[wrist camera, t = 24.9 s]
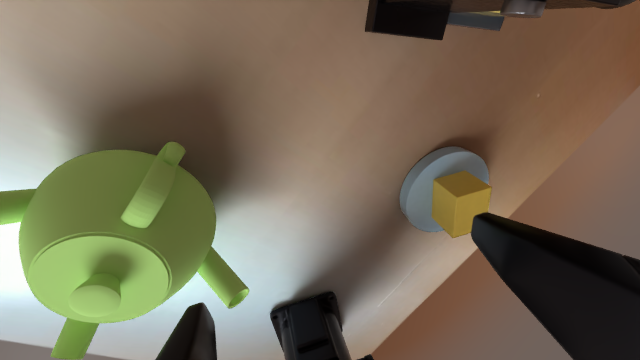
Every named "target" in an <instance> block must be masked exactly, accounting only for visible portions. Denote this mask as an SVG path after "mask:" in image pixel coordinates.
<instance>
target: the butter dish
mask: <svg viewBox="0 0 640 360" xmlns="http://www.w3.org/2000/svg"><path fill="white" fill-rule="evenodd" d="M504 17H505V16H502V15H500V11H486V12H461V13H449V16H448V20H447V24H448V25H456V26H463V27H470V28H478V29H485V30H493V31H500V29H501V26H502V23H503V20H504Z"/></svg>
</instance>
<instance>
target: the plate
mask: <svg viewBox="0 0 640 360" xmlns="http://www.w3.org/2000/svg"><path fill="white" fill-rule="evenodd" d="M464 170H466V171H467V172H469V173H470V174H472V175H473V176H475V177H477V178H478V179H480V180H481V181H483V182H485V183H486V184H488V180H489V173H488V168H487V166H486V164H485V162H484V160H483V159H482V158H481V157H479V156H478V155H476V154H475V153H473V152H471V151H469V150H467V149H465V148H462V147H455V146H453V147H445V148H441V149H438V150H436V151H433V152H431V153H430V154H428V155H426V156H425V157H424V158H422V159H421V160H420V161H419V162H418V163H417V164H416V165H415V166H414V167H413V168H412V169H411V171H410V172H409V173H408V175H407V177H406V178H405V180H404V182H403V185H402V188H401V192H400V207H401V210H402V212H403V214H404V215H405V217H406V218H407V219H408V220H409V221H410V222H411V223H412V224H413V225H414V226H415V227H416V228H418V229H420V230H422V231H426V232H439V231H443V230H444V229H443V228H442V227H441V226H440V225H439V224H438V223H437V222H436V221H435V220H434V219H433V218H432V199H433V180H434V179H437V178H440V177H444V176H447V175H451V174H454V173H458V172H461V171H464Z"/></svg>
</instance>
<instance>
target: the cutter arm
mask: <svg viewBox="0 0 640 360" xmlns="http://www.w3.org/2000/svg"><path fill="white" fill-rule="evenodd" d="M634 1H636V0H621V1H620V3H619V5H618V6H610V7H596V8H601V9H613V8H618V7H622V6H625V5H627V4H630V3H632V2H634Z"/></svg>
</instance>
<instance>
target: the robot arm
mask: <svg viewBox="0 0 640 360" xmlns="http://www.w3.org/2000/svg"><path fill="white" fill-rule="evenodd" d="M471 237H472V239H473V241H474V242H475V244H476V245H477V247H478V248H479V249H480V251H481V252H482V253H483V255H484V256H485V257H486V259H487V260H488V261H489V263H490V264H491V266H492V267H493V268H494V270H495V271H496V272H497V274H498V275H499V276H500V278H501V279H502V280H503V281H504V282H505V283H506V285H507V286H508V287H509V288H510V289H511V290H512V291H513V292H514V293H515V295H516V296H517V297H518V298H519V299H520V300H521V301H522V303H524V305H525V306H526V307H527V308H528V309H529V310H530V312H531V313H532V314H533V315H534V316H535V317H536V318H537V319H538V321H539V322H540V323H541V324H542V325H543V326H544V327H545V328H546V330H547V331H548V332H549V333H550V334H551V335H552V336H553V337H554V339H555V340H556V341H557V342H558V343H559V344H560V345H561V346H562V347H563V349H564V350H565V351H566V352H567V353H568V354H569V355H570V356H571V358H572V359H573V360H640V260H639V259H635V258H632V257H629V256H626V255H624V256H622V255H621V254H619V253H616V252H613V251H610V250H606V249H603V248H600V247H596V246H594V245H590V244H587V243H584V242H581V241H578V240H574V239H571V238H568V237H565V236H562V235H558V234H555V233H552V232H549V231H546V230H542V229H539V228H536V227H533V226H529V225H526V224H523V223H519V222H517V221H513V220H510V219H507V218H504V217H501V216H497V215H494V214H491V213H488V212H484V213H481V214H478V215H475V216H474V217H473V222H472V229H471ZM270 318H271V321H272V324H273V326H274V329H275V331H276V334H277V337H278V339H279V342H280V344H281V347H282V350H283V352H284V356H285V360H351V357H350V354H349V351H348V349H347V346H346V343H345V340H344V337H343V335H342V331H343V330H342V325H341V320H340V315H339V310H338V305H337V299H336V295H335V293H334V292H327V293H324V294H321V295H318V296H315V297H312V298H309V299H306V300H303V301H300V302H297V303H294V304H291V305H288V306H285V307H282V308H279V309H276V310H274V311H272V312H271V313H270ZM156 360H217V352H216V337H215V325H214V320H213V318H212V316H211V314H210V313H209V311H208V309H207V307H206V305H205V304H204V303H198V304H195V305H192V306H189V307H188V308H187V310H186V311H185V313H184V314H183V316H182V318H181V319H180V321H179V322H178V324H177V326H176V327H175V329H174V331H173V332H172V334H171V335H170V337H169V339H168V340H167V342H166V343H165V345H164V347H163V348H162V350H161V352H160V353H159V355H158V356H157V358H156ZM357 360H374V359H373V357H372V355H371V354H369V355H366V356H365V357H364V358H361V359H357Z"/></svg>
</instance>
